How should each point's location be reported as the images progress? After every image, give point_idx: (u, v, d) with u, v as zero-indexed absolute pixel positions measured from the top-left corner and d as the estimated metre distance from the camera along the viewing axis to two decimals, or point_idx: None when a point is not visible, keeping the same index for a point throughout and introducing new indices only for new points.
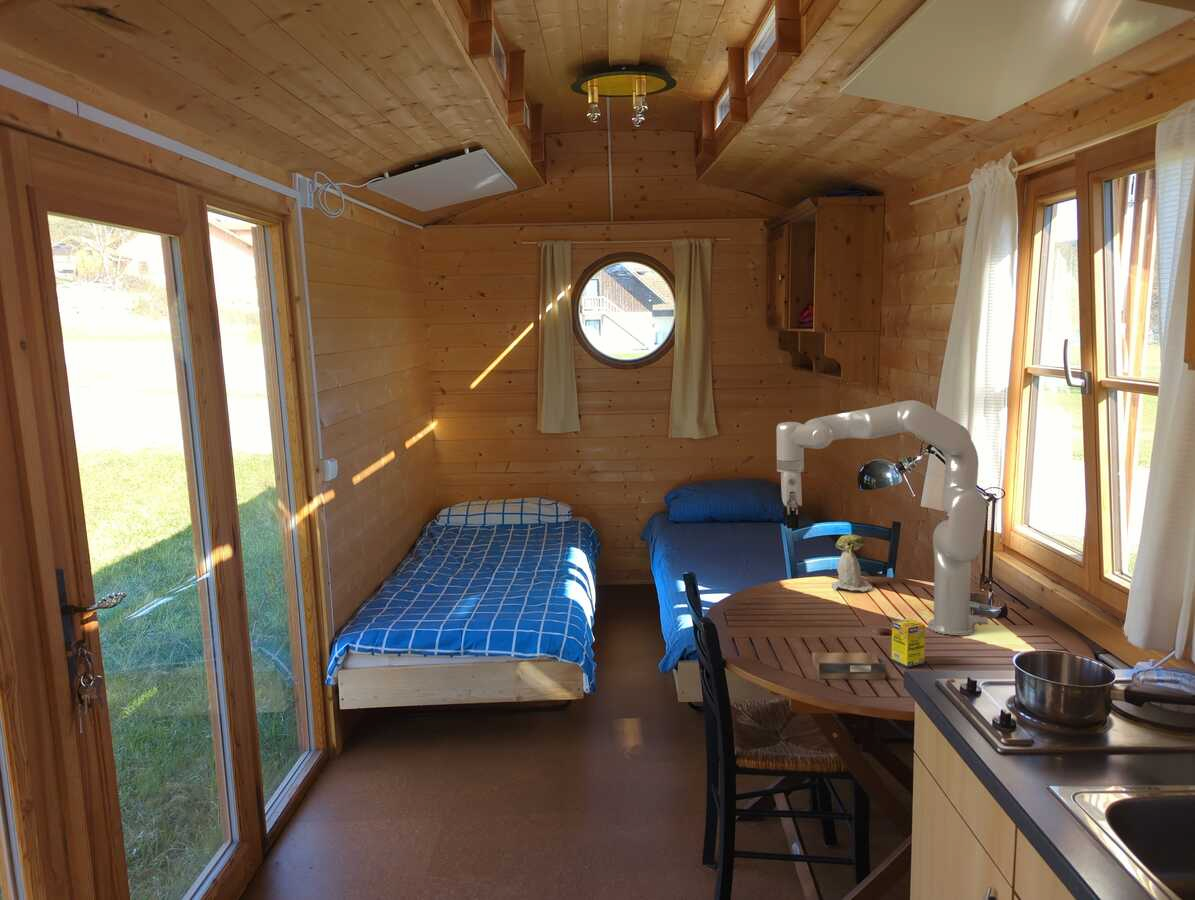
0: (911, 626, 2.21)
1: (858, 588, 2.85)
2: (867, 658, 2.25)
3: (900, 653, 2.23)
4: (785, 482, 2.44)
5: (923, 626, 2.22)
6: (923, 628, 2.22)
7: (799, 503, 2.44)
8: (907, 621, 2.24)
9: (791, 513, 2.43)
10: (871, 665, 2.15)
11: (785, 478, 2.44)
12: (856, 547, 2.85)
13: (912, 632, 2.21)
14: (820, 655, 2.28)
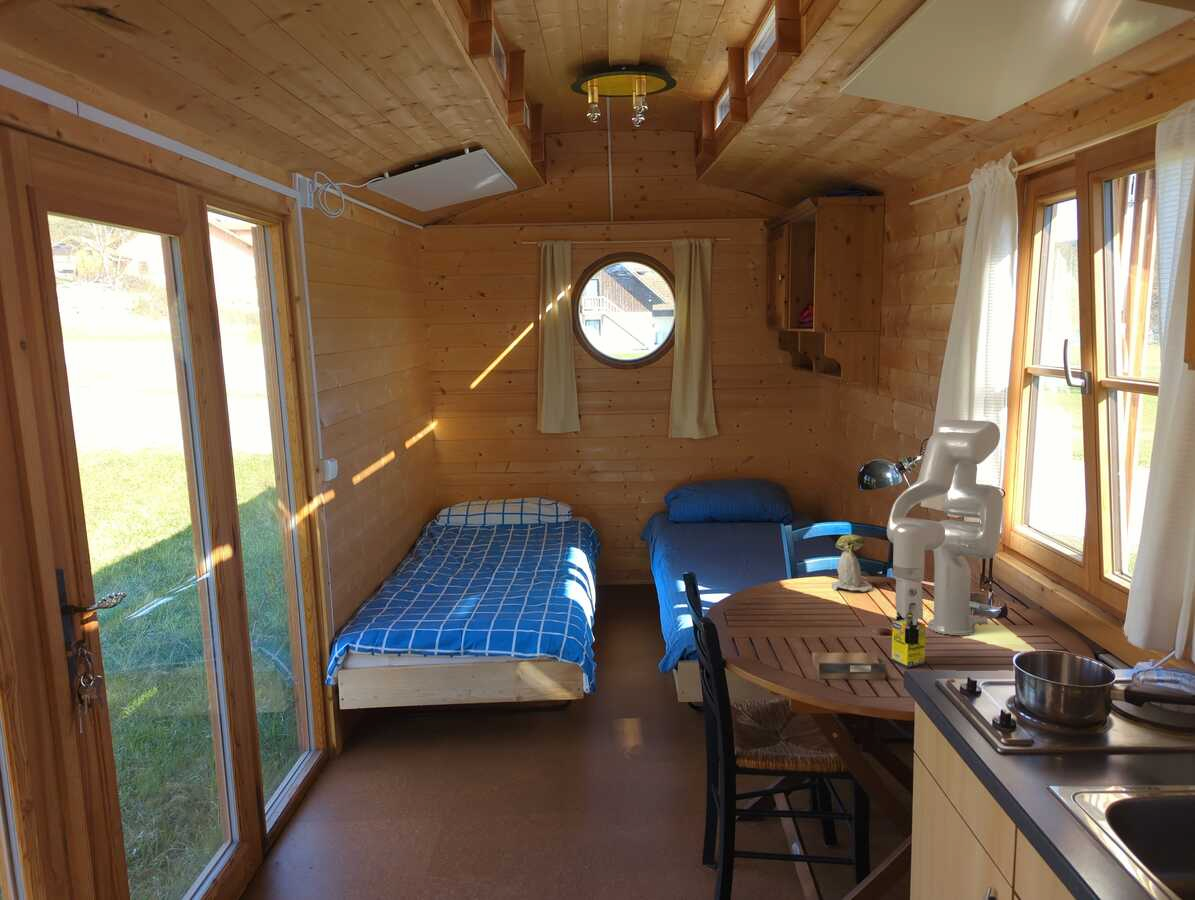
0: None
1: (858, 588, 2.85)
2: (867, 658, 2.25)
3: (900, 653, 2.23)
4: (904, 592, 2.18)
5: (923, 626, 2.22)
6: (923, 628, 2.22)
7: (920, 616, 2.18)
8: None
9: (911, 627, 2.17)
10: (871, 665, 2.15)
11: (904, 588, 2.18)
12: (856, 547, 2.85)
13: None
14: (820, 655, 2.28)
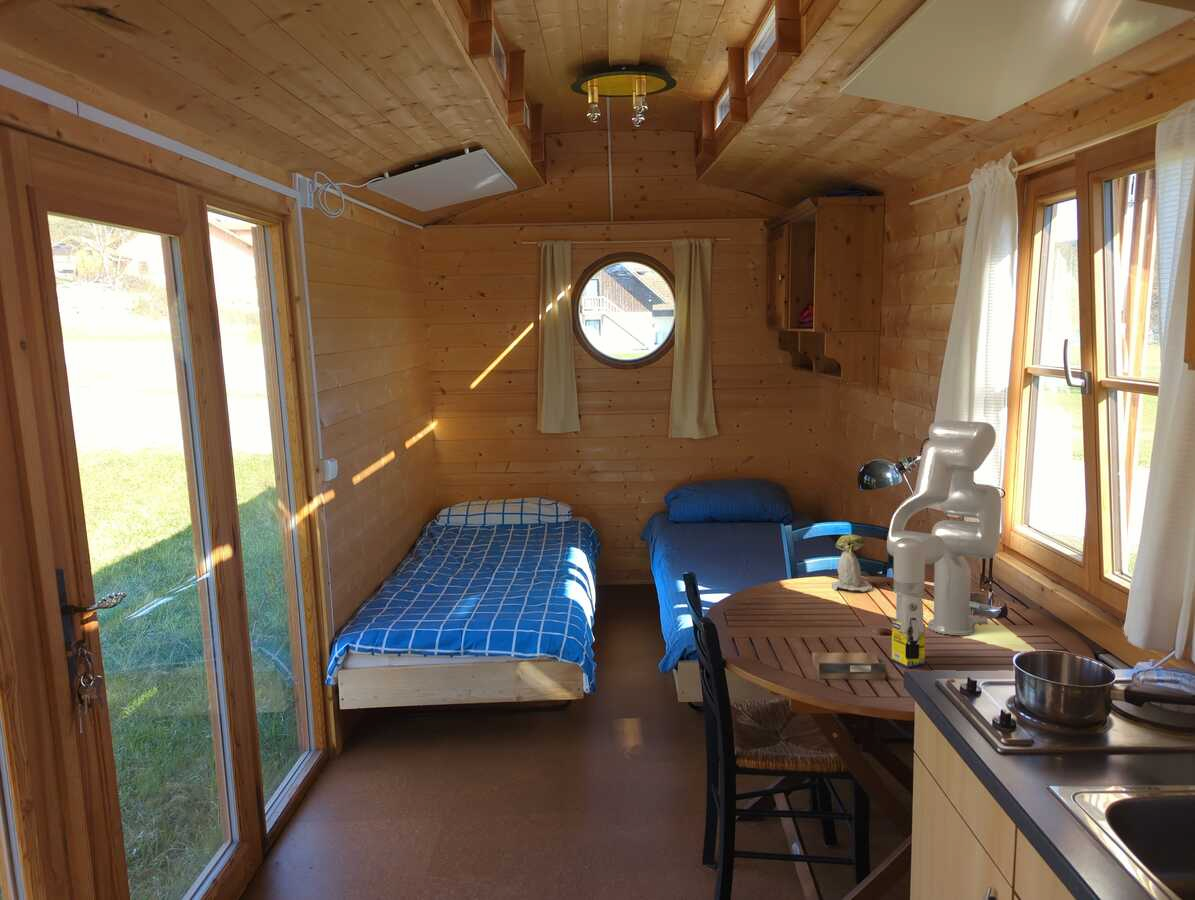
0: None
1: (858, 588, 2.85)
2: (867, 658, 2.25)
3: (900, 653, 2.23)
4: (905, 607, 2.19)
5: None
6: None
7: (921, 631, 2.19)
8: None
9: (912, 643, 2.18)
10: (871, 665, 2.15)
11: (905, 603, 2.19)
12: (856, 547, 2.85)
13: None
14: (820, 655, 2.28)
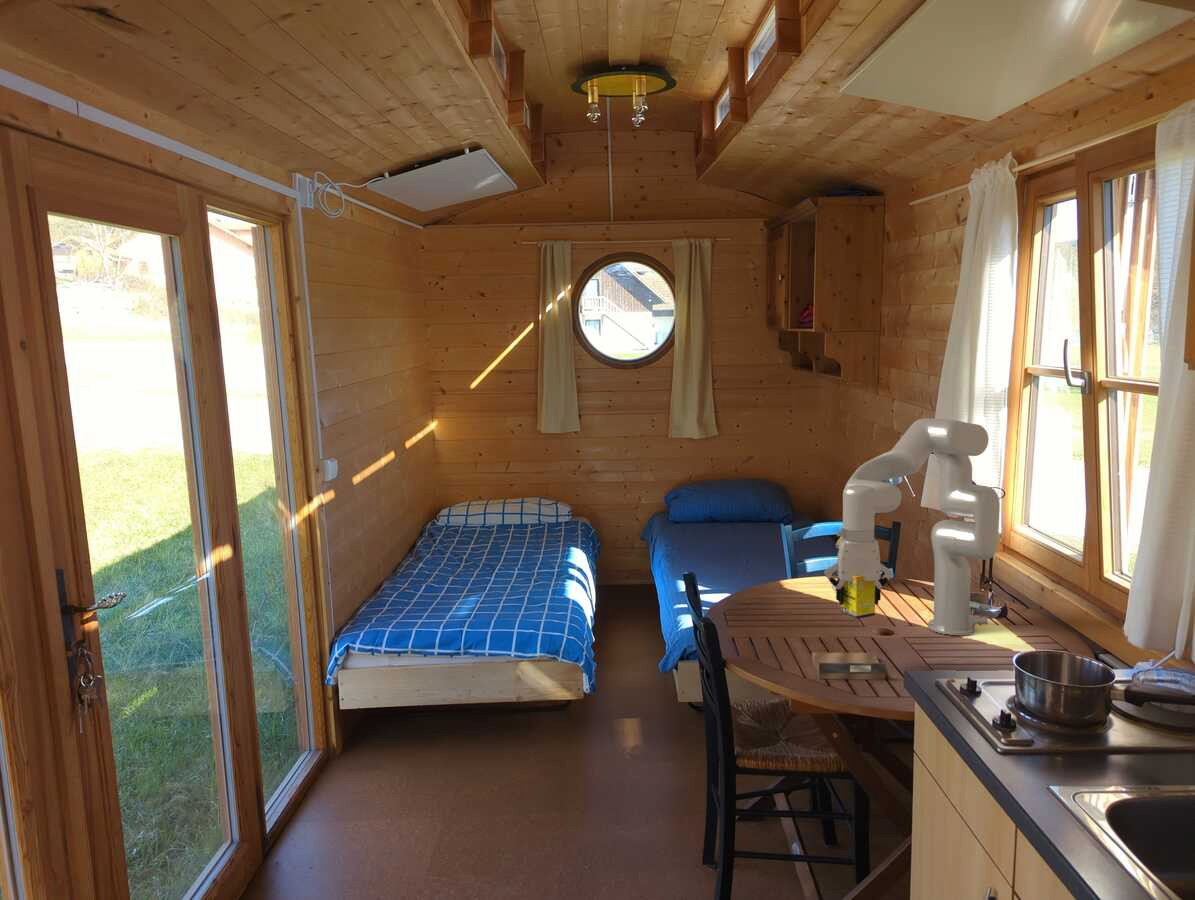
0: None
1: None
2: (867, 658, 2.25)
3: None
4: None
5: (854, 578, 2.14)
6: (854, 579, 2.14)
7: (839, 576, 2.16)
8: None
9: None
10: (871, 665, 2.15)
11: None
12: None
13: None
14: (820, 655, 2.28)
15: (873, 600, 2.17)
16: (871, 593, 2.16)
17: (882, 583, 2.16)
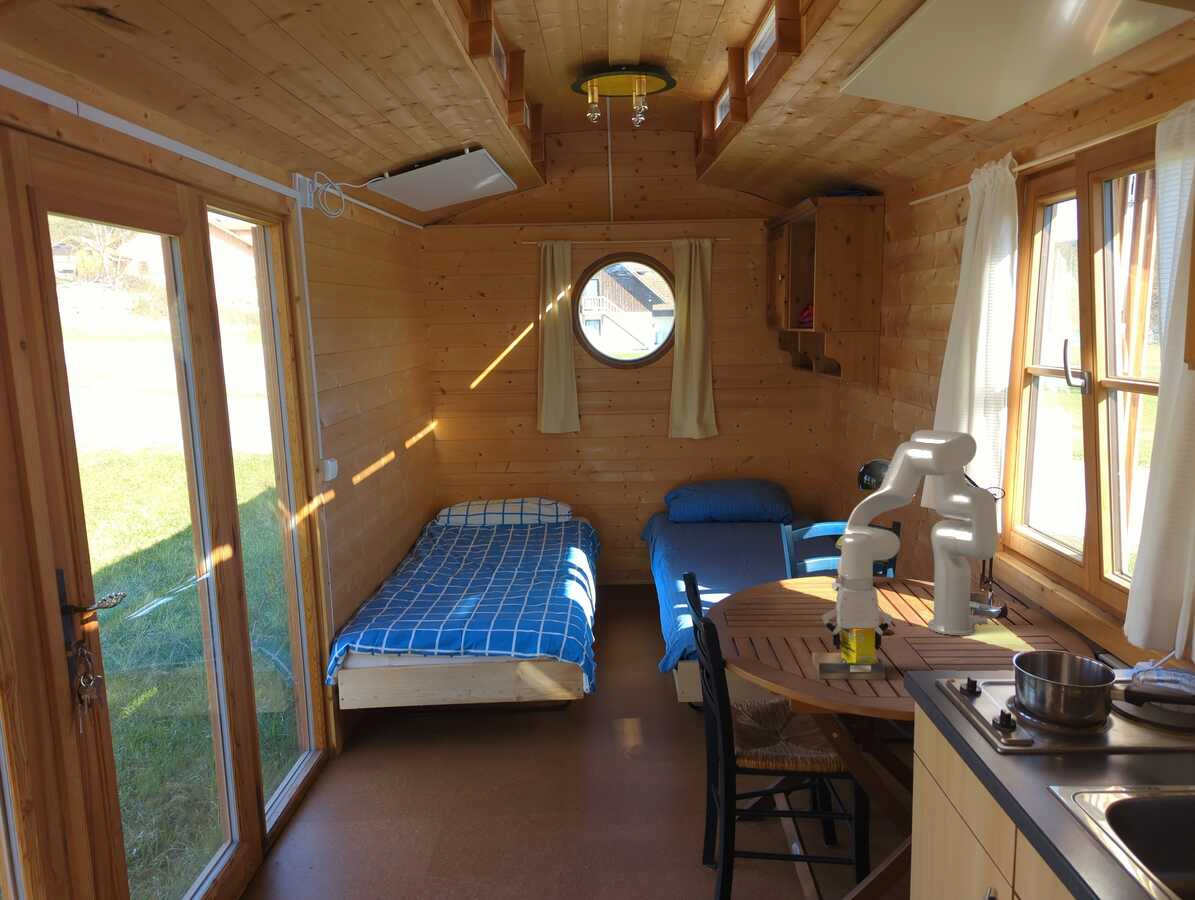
0: None
1: None
2: None
3: None
4: None
5: (854, 630, 2.16)
6: (853, 632, 2.16)
7: (837, 623, 2.18)
8: None
9: None
10: (871, 665, 2.15)
11: None
12: None
13: (845, 630, 2.20)
14: (820, 655, 2.28)
15: (873, 652, 2.18)
16: (871, 645, 2.18)
17: (883, 628, 2.18)
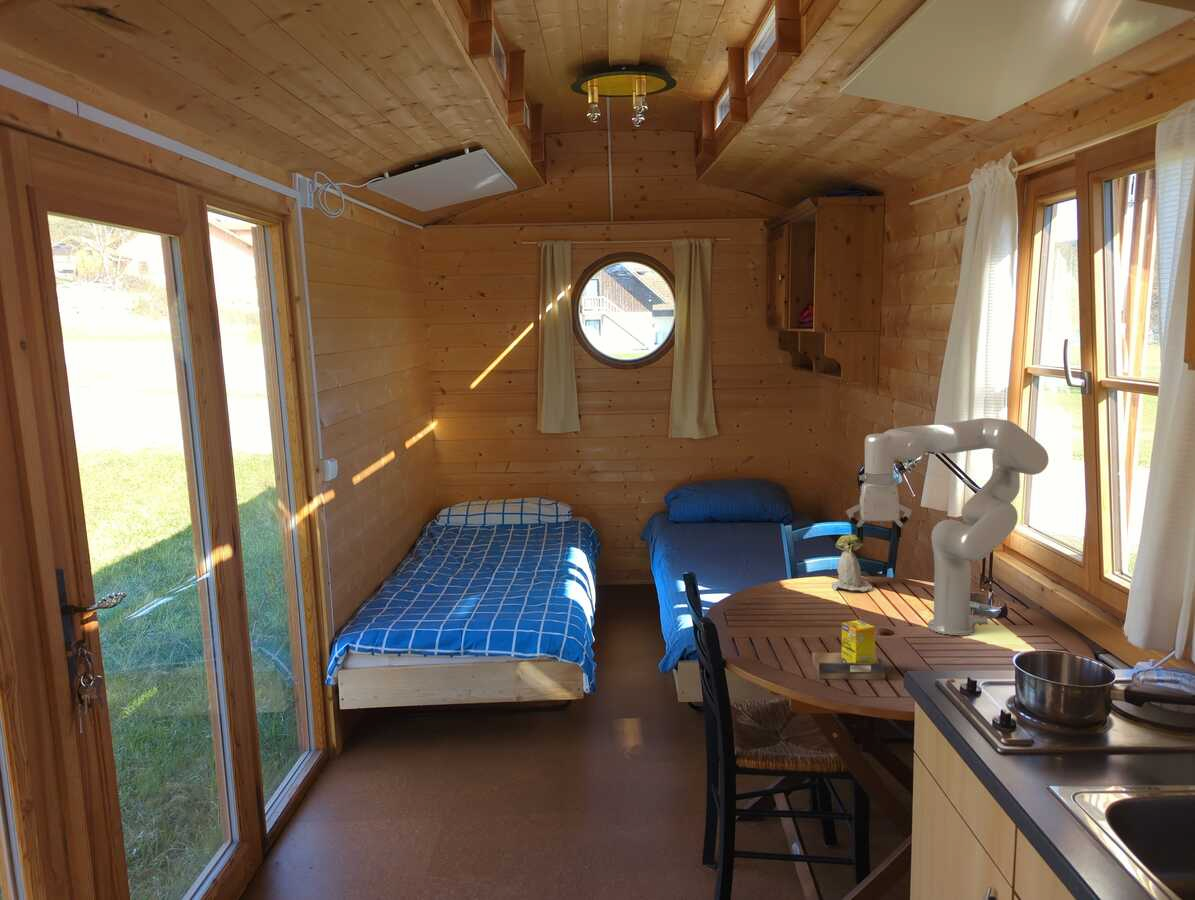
0: (846, 624, 2.20)
1: (858, 588, 2.85)
2: None
3: None
4: None
5: (854, 631, 2.16)
6: (853, 632, 2.16)
7: (861, 516, 2.37)
8: (860, 624, 2.19)
9: None
10: (871, 665, 2.15)
11: None
12: (856, 547, 2.85)
13: (845, 630, 2.20)
14: (820, 655, 2.28)
15: (873, 652, 2.18)
16: (871, 645, 2.18)
17: (903, 521, 2.37)
